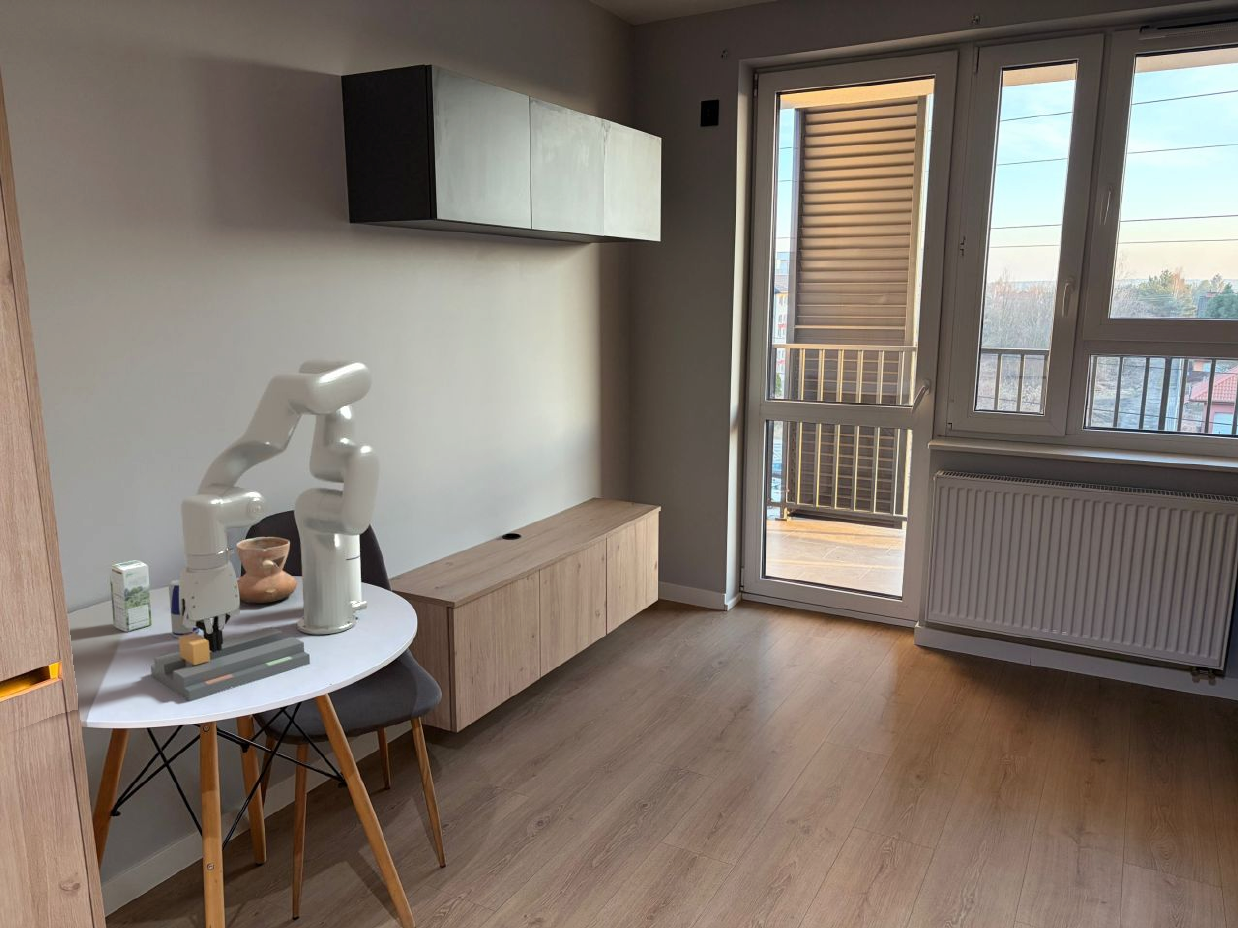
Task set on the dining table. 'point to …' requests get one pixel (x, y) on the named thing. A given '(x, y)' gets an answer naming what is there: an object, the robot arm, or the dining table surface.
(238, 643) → the grey slotted track
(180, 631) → the energy drink
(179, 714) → the dining table surface
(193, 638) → the switch knob
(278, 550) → the ceramic jug
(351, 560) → the cylindrical container
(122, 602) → the syrup box
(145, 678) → the dining table surface
